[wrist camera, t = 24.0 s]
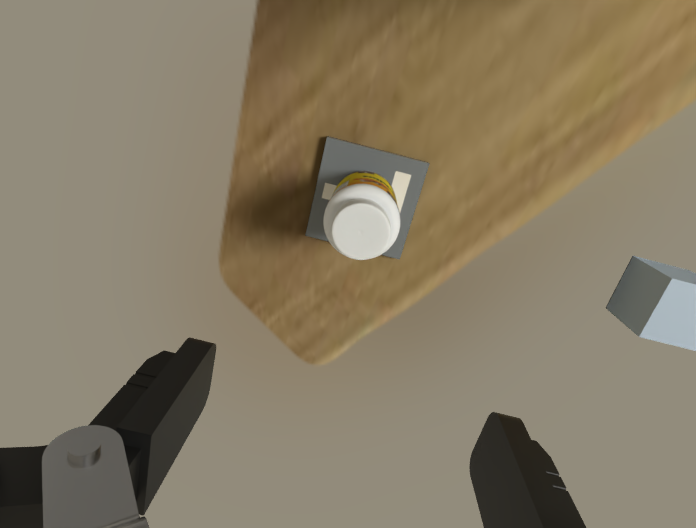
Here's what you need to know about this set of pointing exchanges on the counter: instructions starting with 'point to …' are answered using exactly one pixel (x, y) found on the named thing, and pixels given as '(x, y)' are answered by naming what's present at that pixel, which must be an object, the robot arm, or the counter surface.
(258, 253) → the counter surface
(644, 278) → the blue block
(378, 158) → the board
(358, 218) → the supplement bottle
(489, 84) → the counter surface
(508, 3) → the counter surface
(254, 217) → the counter surface
